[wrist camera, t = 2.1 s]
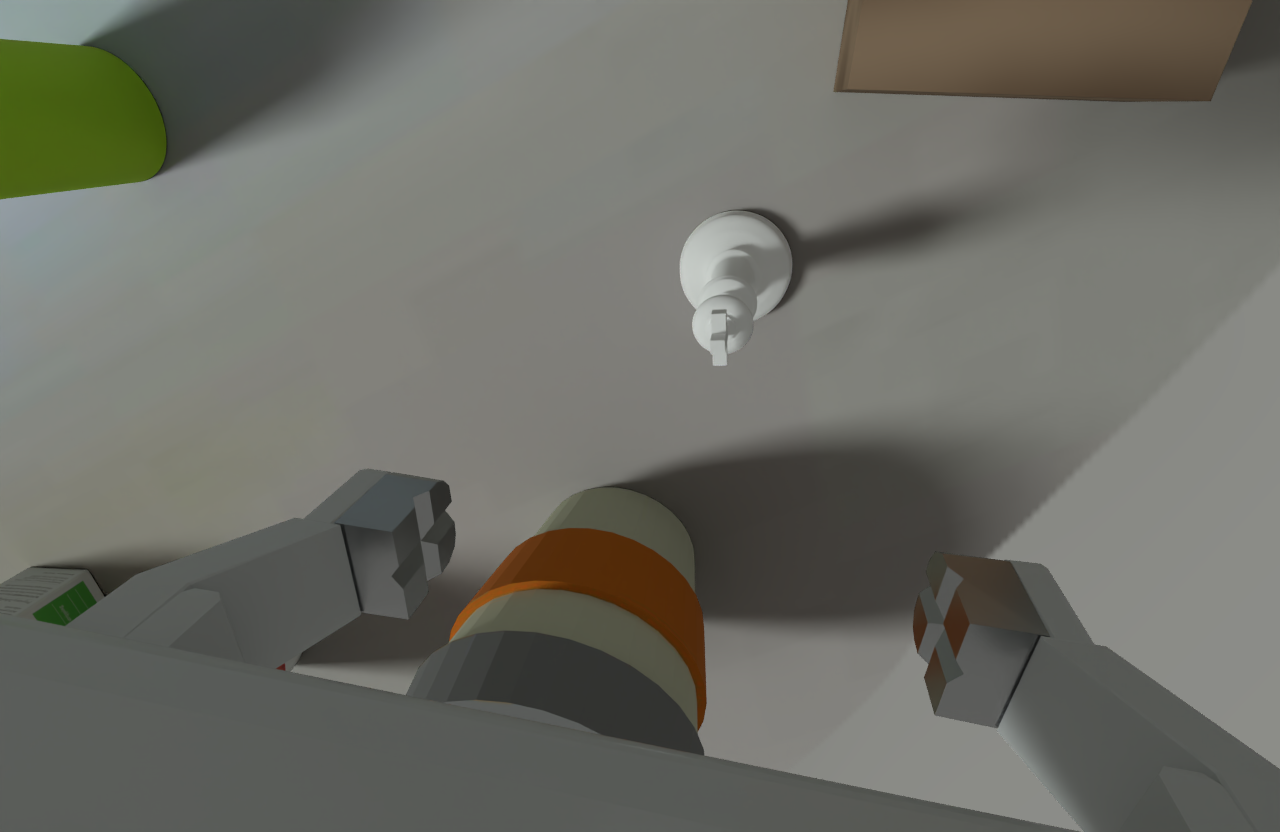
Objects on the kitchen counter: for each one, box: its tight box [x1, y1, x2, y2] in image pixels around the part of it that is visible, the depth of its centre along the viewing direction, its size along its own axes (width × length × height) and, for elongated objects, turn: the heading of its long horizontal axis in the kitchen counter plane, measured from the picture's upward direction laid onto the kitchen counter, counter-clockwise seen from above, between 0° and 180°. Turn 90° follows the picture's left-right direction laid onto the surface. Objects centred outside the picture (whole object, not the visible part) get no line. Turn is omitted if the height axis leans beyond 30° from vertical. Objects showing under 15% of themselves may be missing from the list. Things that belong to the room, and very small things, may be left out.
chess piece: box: [680, 210, 792, 366], centre depth 23 cm, size 5×5×10 cm
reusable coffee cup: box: [406, 487, 707, 755], centre depth 29 cm, size 13×13×15 cm
